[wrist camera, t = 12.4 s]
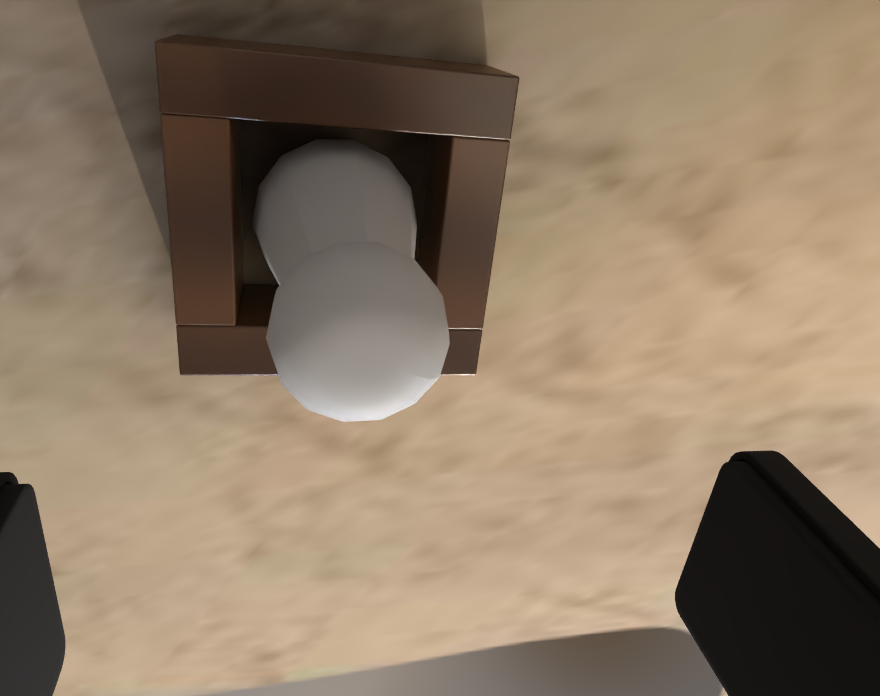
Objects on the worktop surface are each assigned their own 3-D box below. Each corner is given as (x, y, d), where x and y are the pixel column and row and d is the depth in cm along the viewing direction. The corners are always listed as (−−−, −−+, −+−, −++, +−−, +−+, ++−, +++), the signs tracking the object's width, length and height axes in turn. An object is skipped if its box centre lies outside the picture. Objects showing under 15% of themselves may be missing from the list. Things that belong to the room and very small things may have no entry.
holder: (175, 34, 23) (154, 40, 19) (489, 65, 25) (520, 76, 22) (194, 328, 28) (179, 376, 24) (455, 332, 30) (476, 376, 27)
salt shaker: (301, 295, 28) (305, 500, 17) (226, 168, 25) (172, 310, 14) (429, 235, 28) (523, 400, 16) (369, 100, 25) (432, 187, 14)
